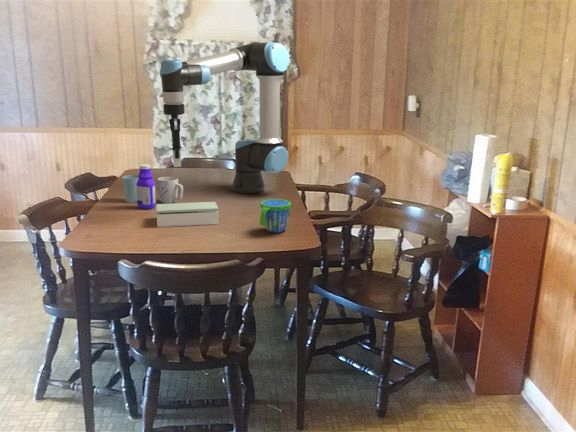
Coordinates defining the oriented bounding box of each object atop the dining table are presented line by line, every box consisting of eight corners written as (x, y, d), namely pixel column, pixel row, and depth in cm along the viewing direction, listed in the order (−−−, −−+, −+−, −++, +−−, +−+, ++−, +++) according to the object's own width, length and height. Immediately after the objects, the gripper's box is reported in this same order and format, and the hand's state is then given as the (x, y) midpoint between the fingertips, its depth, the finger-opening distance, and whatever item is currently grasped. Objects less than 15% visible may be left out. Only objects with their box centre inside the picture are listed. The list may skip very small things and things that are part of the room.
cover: (215, 203, 224) (215, 201, 224) (218, 210, 213) (218, 208, 213) (156, 206, 219) (156, 203, 219) (156, 213, 208) (156, 210, 208)
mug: (189, 201, 245) (188, 178, 242) (177, 206, 238) (176, 182, 235) (166, 198, 250) (165, 175, 247) (154, 203, 242) (153, 179, 240)
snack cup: (271, 238, 199) (272, 209, 196) (249, 231, 205) (249, 203, 202) (300, 228, 210) (301, 201, 207) (278, 222, 217) (278, 196, 214)
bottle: (158, 206, 236) (156, 164, 232) (151, 210, 231) (148, 166, 227) (143, 205, 239) (140, 163, 234) (135, 208, 233) (132, 165, 229)
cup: (143, 202, 243) (142, 177, 240) (124, 204, 240) (123, 179, 237) (140, 198, 250) (138, 174, 247) (121, 199, 247) (120, 175, 244)
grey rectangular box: (215, 215, 225) (215, 203, 224) (218, 224, 214) (218, 212, 213) (157, 217, 221) (156, 206, 220) (157, 226, 209) (156, 214, 208)
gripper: (162, 101, 219) (166, 163, 226) (163, 105, 207) (168, 170, 214) (182, 101, 221) (186, 162, 228) (185, 104, 209) (188, 169, 216)
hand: (177, 166), depth 221 cm, fingers closed
